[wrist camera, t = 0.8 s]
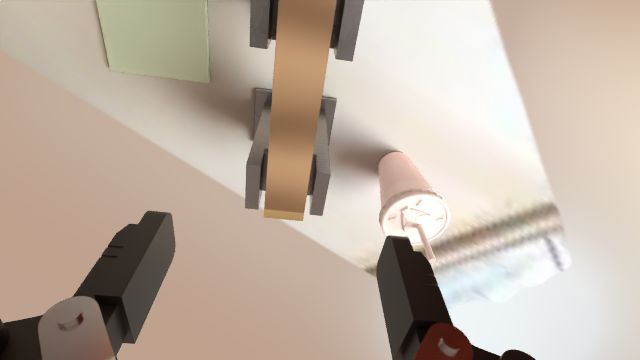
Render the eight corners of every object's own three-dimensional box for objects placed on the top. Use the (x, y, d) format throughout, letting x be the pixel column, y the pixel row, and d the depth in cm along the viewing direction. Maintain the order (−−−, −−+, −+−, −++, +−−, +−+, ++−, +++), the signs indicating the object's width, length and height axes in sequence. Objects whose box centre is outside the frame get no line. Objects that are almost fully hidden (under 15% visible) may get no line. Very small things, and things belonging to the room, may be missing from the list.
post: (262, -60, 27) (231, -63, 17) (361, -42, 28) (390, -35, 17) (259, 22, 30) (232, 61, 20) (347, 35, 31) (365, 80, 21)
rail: (285, -39, 19) (281, -37, 17) (337, -30, 20) (340, -27, 17) (268, 193, 29) (263, 217, 26) (303, 197, 29) (302, 221, 26)
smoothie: (386, 197, 42) (415, 293, 30) (355, 162, 39) (373, 254, 27) (432, 168, 39) (483, 259, 28) (403, 129, 37) (445, 214, 25)
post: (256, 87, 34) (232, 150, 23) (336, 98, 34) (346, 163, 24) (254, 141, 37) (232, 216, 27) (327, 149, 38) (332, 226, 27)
